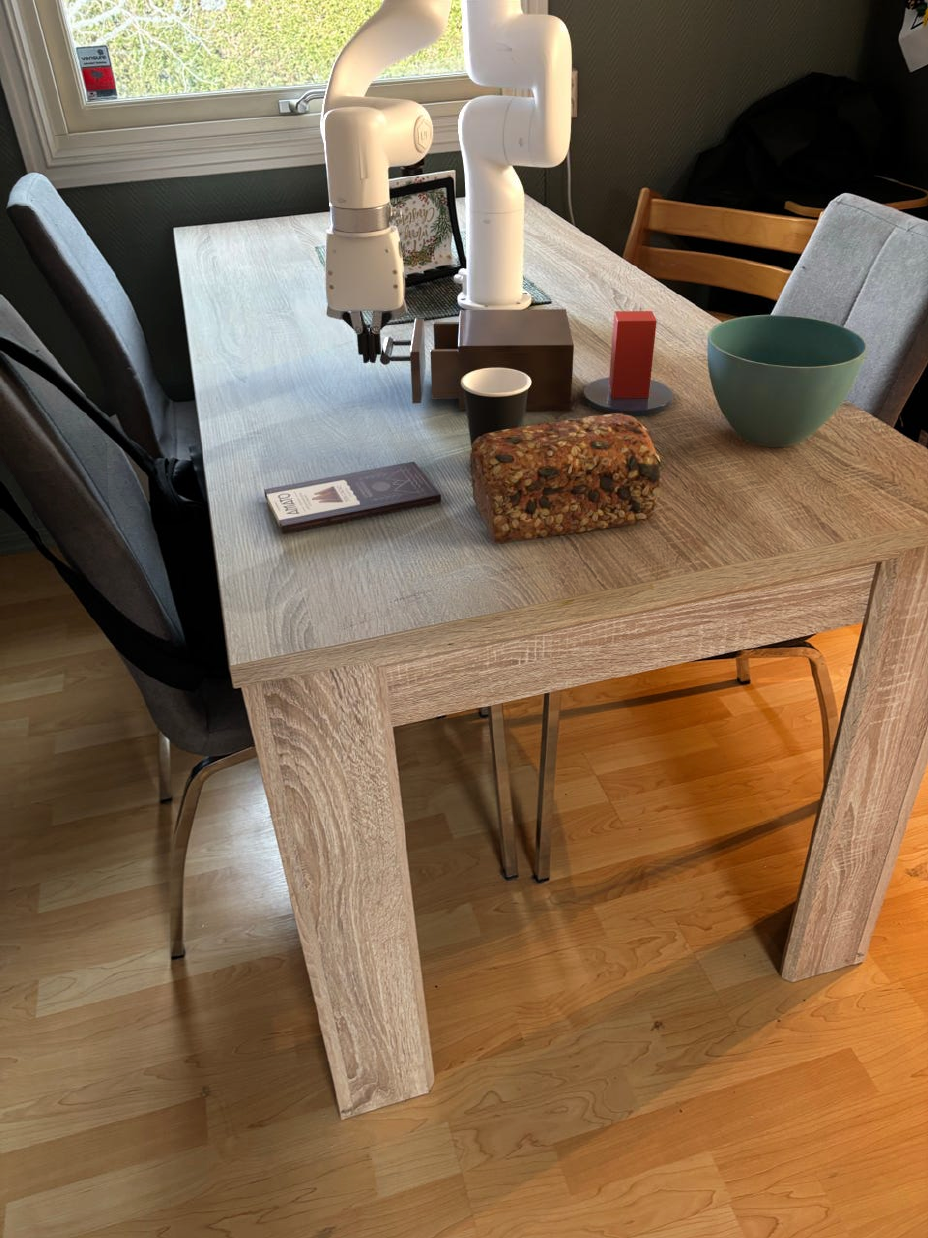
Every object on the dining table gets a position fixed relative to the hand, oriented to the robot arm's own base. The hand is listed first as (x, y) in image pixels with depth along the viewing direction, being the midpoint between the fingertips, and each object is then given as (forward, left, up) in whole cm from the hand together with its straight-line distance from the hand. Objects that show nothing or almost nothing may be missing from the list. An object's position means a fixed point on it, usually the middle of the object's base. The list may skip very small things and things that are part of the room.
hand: (370, 359), depth 133 cm
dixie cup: (+29, -5, -5) cm, 30 cm away
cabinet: (+14, +14, -5) cm, 20 cm away
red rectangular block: (+27, +23, -4) cm, 36 cm away
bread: (+42, -8, -5) cm, 43 cm away
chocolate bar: (+23, -22, -5) cm, 32 cm away
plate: (+27, +23, -5) cm, 36 cm away
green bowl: (+47, +26, -5) cm, 54 cm away
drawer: (+7, +8, -4) cm, 11 cm away
